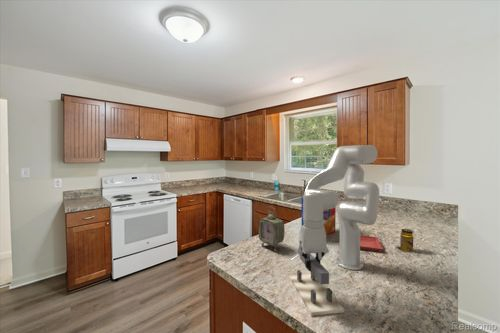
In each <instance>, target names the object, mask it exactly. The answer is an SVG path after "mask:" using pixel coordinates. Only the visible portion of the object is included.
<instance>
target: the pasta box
mask: <svg viewBox="0 0 500 333" xmlns="http://www.w3.org/2000/svg"><path fill="white" fill-rule="evenodd" d="M300 198H301V201H300V202H301V203H300V204H301V205H300V206H301V219H300V220H301V226H302V225H303V196H301V197H300ZM336 208H337V206H336V207H335V208H333V209H323V220H326V223H324V224H323V226H324V228H325V232H326V237H329V236H330V235H333V234H335V233H336V216H337V215H336Z"/></svg>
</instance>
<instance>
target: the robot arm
mask: <svg viewBox="0 0 500 333" xmlns="http://www.w3.org/2000/svg"><path fill="white" fill-rule="evenodd" d="M377 159H378V149H377V147H376V146H375V145H373V144H366V145H364V144H363V145H362V144H360V145H359V144H357V145H342V146H338V147H337V148H335V150H334V152H333V154H332V156H331V158H330V160H329V162H328V164H327V166H326V168H325V169H323V170H322V171H320V172H319V173H317V174H316V175H314V176H313V177H312V178H311V179H310V180H309V181H308V183H307V185H306V188H305V190H304V192H303V196H302V197H303V225H302V224H301V226H300V230H299V236H298V237H299V238H298V248H297V250H296V253H297V254H296V255H298V254H299V255H301V256H303V257H304V258H305V264H304V266H305V268H306V270H308V272H310V271H311V261H310V253H311V254H315V257H314V258H315V259H316V260H317V261H318V262H319V263H320V264H321V261H322V259H323V258H324V257H325V255H326V254H328V253H329V252H330V251H329V248H328V245H327V236H326V232H325V228H324V226H323V224H324V223H326V220H323V209H333V208H335V207H336V208H337V216H338V222H339V239H338V240H339V244H338V245H339V247H338V248H339V249H338V250H337V253H338V257H337V258H336V259H335V260H336V264H337V265H338V266H339V267H342V268H344V269H346V270H352V271H357V270H358V271H359V270H362V269H363V268H364V265H365V264H364V262H363V261H362V260H361V249H360V235H361V229H360V227H359V225H358V224H362V225H366V226H373V225H374V224H375V223H376V221H377V220H378V219H377V217H378V213H379V212H378V211H379V202H380V188H379V185H378V184H377V183H375V182H373V181H365V180H364V178H365V171H364V169H363V167H362V166H361V165H367V164H372V163H374V162H375V161H376V160H377ZM343 179H344V185H343V196H344V197H345V198H346V199H349V200H353V201H342V202H339V201H340V200H339V199H340V198H339V195H338V194H337V193H336V192H335V191H333V190H327V189H320V188H322V187H324V186H326V185H329V184H332V183H335V182H339V181H341V180H343ZM354 200H356V201H360V202H361V201H362V202H365V203H362V202H361V203H360V202H354ZM302 251H303V252H302Z"/></svg>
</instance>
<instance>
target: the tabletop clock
mask: <svg viewBox="0 0 500 333" xmlns="http://www.w3.org/2000/svg"><path fill="white" fill-rule="evenodd" d="M269 208H271V209H273V210H274V212H273V211H269ZM266 210H267V213H269V214H267V217H263V218H260V219H259V220H258V223H257V224H258V225H257V228H258V229H257V230H258V238H259V241H261V242H262V243H260V244H261V246H262V247H263V246H265V244H266V245H270V246H272V247H274V249H273V251H274V252H277V247H276V246H277V245H278V244H281V243H283V241H284V239H285V223H284V221H283V220H282V219H280V218H277V217H276V215H275V214H276V212H277V211H276V208H275V207H273V206H268V207H267V208H266Z"/></svg>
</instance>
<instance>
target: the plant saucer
mask: <svg viewBox="0 0 500 333" xmlns="http://www.w3.org/2000/svg"><path fill="white" fill-rule="evenodd" d="M383 249H384V248H383V245H382V244H381V242H380V240H379V238H378V237H376V236H370V235H369V236H368V235H367V236H366V235H361V234H360V251H361V250H363V251H368V252H369V251H370V252H378V253H379V252H382V250H383Z"/></svg>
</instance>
